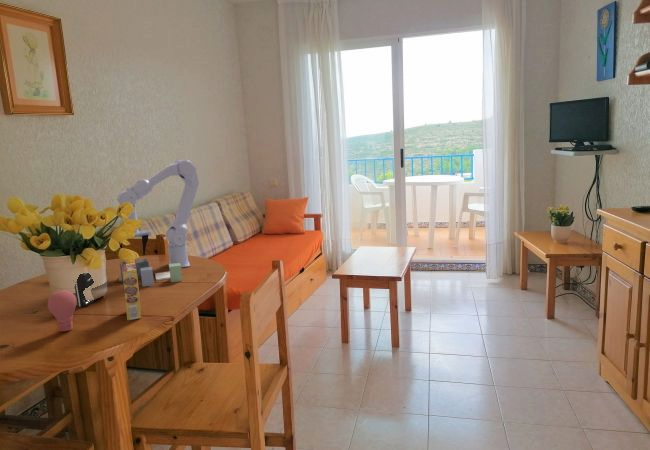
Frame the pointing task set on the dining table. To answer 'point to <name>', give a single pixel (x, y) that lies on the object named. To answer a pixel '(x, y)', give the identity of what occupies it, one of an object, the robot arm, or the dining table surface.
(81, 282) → the black curved piece
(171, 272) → the sage part
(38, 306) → the dining table surface
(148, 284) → the blue-grey part
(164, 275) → the plate
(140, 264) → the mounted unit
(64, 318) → the light bulb
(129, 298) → the candy box
